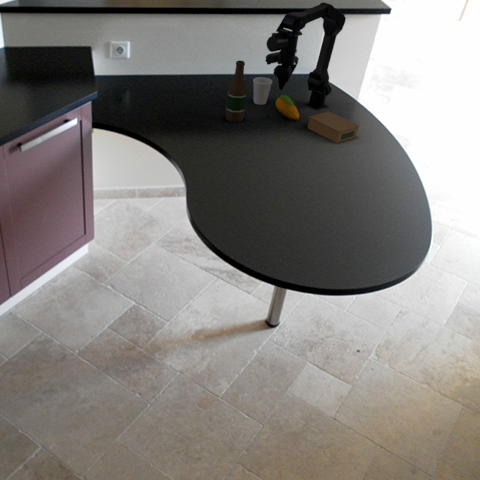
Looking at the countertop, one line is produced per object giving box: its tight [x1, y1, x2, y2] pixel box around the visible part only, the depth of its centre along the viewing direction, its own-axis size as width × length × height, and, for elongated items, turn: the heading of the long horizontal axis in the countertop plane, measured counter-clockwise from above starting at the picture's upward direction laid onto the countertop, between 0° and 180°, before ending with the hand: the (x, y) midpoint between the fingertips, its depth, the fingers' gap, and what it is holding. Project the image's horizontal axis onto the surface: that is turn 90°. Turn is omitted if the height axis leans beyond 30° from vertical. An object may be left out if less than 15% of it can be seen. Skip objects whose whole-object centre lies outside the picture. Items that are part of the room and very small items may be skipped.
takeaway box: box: [307, 110, 361, 144], centre depth 236 cm, size 17×12×5 cm
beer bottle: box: [225, 60, 247, 123], centre depth 239 cm, size 8×8×24 cm
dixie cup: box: [252, 76, 273, 106], centre depth 260 cm, size 8×8×10 cm
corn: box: [275, 94, 302, 121], centre depth 248 cm, size 7×8×20 cm
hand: (283, 86), depth 242 cm, fingers open, 9 cm apart
